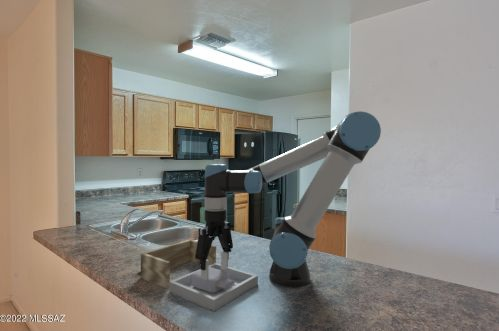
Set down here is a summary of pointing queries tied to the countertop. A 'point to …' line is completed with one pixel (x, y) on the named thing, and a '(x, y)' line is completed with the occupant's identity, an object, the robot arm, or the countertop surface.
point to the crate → (170, 261)
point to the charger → (212, 280)
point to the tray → (216, 299)
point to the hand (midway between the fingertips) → (214, 274)
